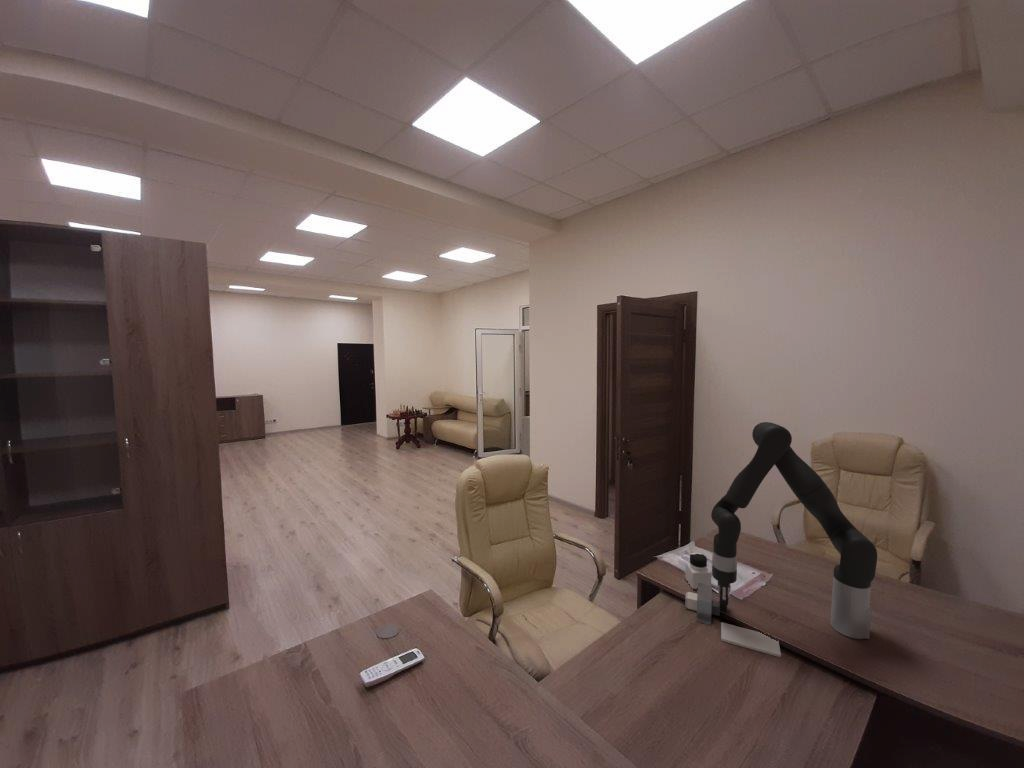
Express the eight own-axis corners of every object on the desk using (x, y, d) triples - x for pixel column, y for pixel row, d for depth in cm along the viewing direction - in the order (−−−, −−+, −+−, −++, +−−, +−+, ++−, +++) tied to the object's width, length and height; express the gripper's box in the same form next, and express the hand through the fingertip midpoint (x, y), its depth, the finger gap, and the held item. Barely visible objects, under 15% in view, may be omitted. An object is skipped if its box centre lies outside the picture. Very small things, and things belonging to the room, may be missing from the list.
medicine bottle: (711, 589, 153) (712, 560, 151) (692, 590, 153) (693, 560, 151) (702, 578, 160) (703, 550, 158) (684, 578, 160) (685, 550, 158)
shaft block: (711, 598, 147) (712, 582, 147) (711, 625, 134) (711, 607, 133) (698, 595, 149) (698, 579, 149) (696, 621, 136) (696, 603, 136)
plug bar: (719, 609, 142) (719, 599, 141) (719, 616, 138) (719, 606, 138) (686, 601, 147) (686, 591, 146) (685, 607, 143) (685, 597, 143)
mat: (777, 639, 127) (777, 636, 127) (780, 657, 120) (781, 655, 120) (721, 624, 135) (721, 622, 134) (721, 640, 128) (721, 638, 127)
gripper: (737, 578, 129) (736, 627, 131) (736, 557, 141) (734, 602, 143) (712, 572, 133) (711, 620, 135) (712, 552, 144) (711, 597, 146)
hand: (723, 611), depth 139 cm, fingers closed
